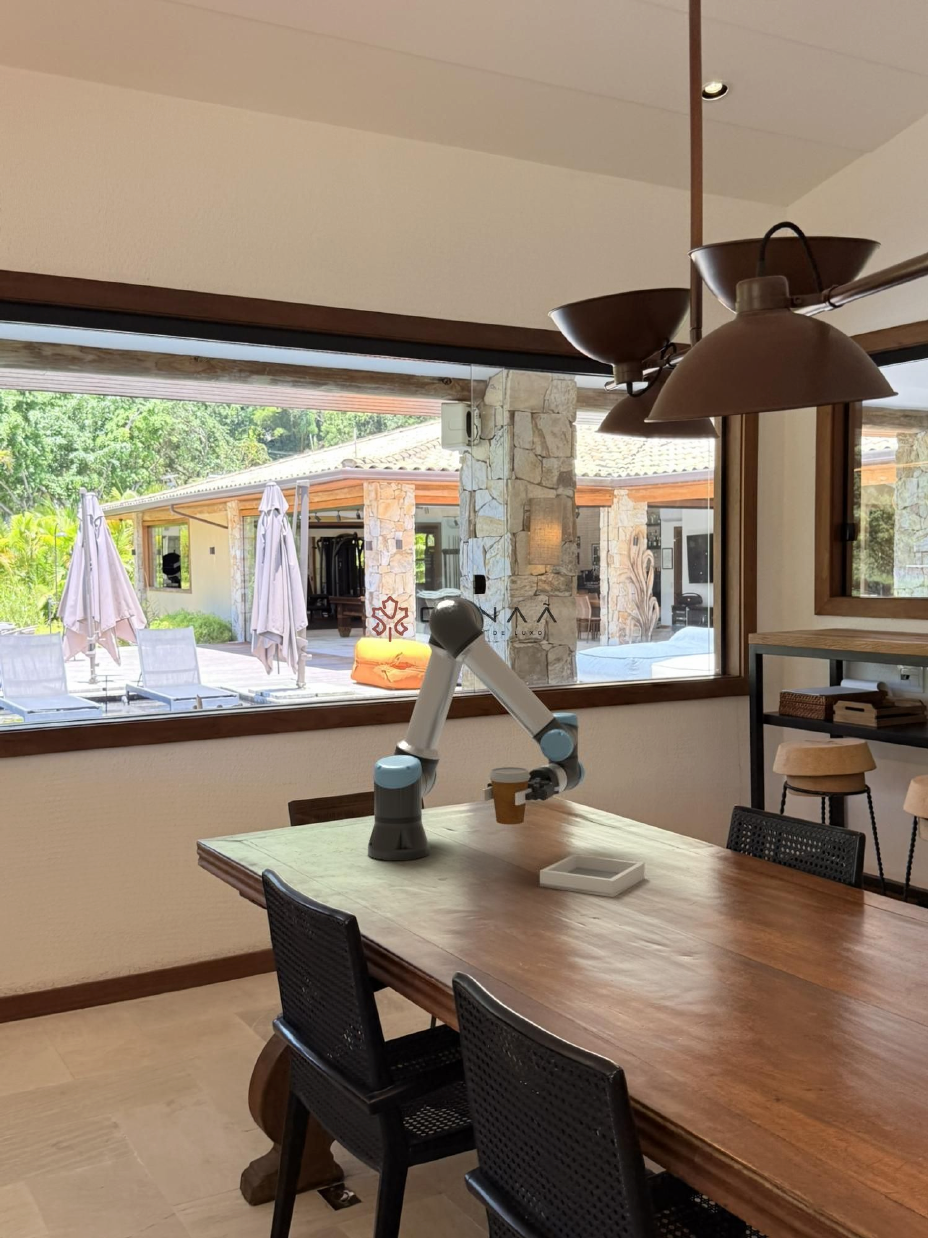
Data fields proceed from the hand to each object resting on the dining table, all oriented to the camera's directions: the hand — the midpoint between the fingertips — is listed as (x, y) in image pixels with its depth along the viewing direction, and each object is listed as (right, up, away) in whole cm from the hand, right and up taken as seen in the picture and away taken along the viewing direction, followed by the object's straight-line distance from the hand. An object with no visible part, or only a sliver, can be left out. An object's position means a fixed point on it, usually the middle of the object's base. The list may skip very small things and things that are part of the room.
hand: (499, 797), depth 264 cm
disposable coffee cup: (+2, -7, +4) cm, 8 cm away
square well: (+20, -18, -6) cm, 28 cm away
